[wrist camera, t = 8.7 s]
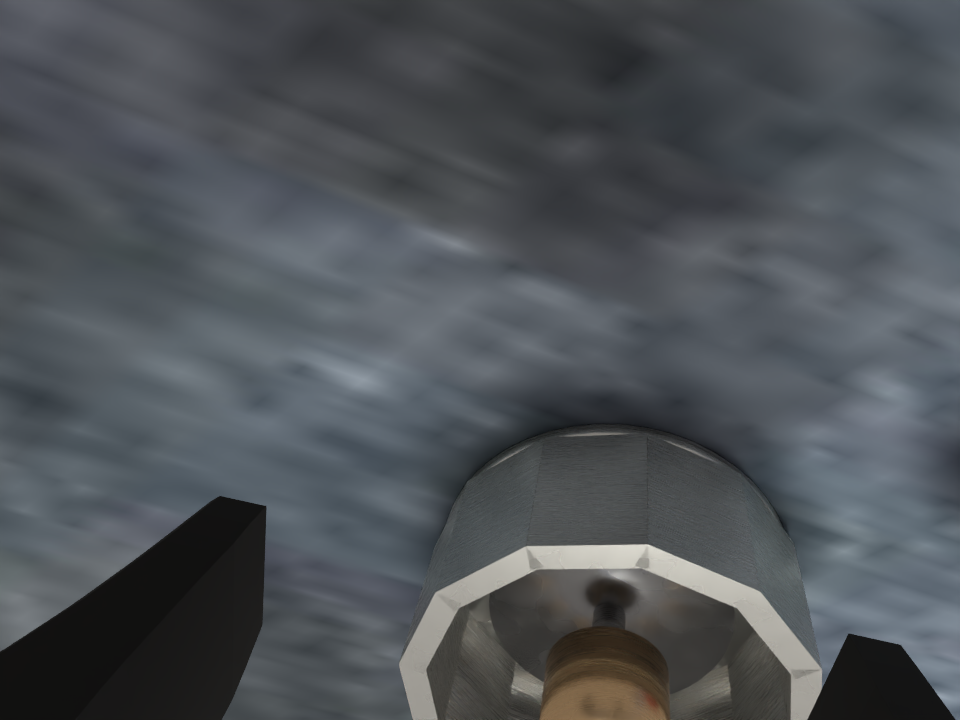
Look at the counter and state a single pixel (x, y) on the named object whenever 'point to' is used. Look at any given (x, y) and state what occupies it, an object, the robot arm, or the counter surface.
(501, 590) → the plunger
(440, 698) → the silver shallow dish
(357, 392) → the counter surface
